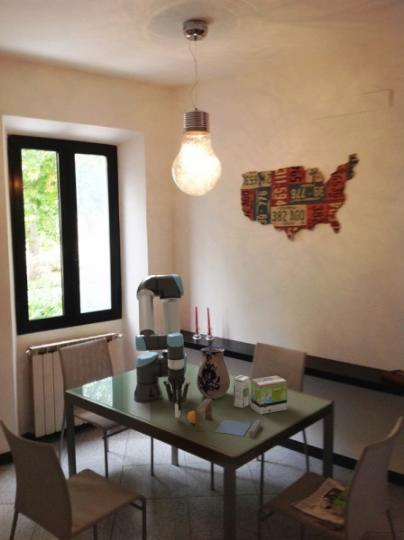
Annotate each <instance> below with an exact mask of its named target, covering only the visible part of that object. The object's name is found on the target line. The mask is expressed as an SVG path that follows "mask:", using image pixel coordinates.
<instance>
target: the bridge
mask: <svg viewBox="0 0 404 540" xmlns="http://www.w3.org/2000/svg"><path fill="white" fill-rule="evenodd" d="M194 411H195V423H194V429H195V431H198V430H201V431H200V432H202V431H203V430H204V419H205V420H211V421H212V420H213V418H214V416H213V411H214V409H213V399H212V398H205V399H204V400H203V401H202V402H201V403H200V404H199V405H198V406H197V407H196V408H195V409H194ZM203 412H204V413H203ZM203 414H204V415H203ZM204 417H205V418H204ZM202 429H203V430H202Z"/></svg>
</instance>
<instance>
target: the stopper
mask: <svg viewBox="0 0 404 540" xmlns="http://www.w3.org/2000/svg"><path fill="white" fill-rule="evenodd" d="M261 426H262V421H261V420H260V419H256V420H255V422H254V423H253V424H252V425H251V428H250V429H249V432H248V436H249V437H250V438H254V437H256V435H257V433H258V431H259V429H261Z"/></svg>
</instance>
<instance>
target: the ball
mask: <svg viewBox="0 0 404 540" xmlns="http://www.w3.org/2000/svg"><path fill="white" fill-rule="evenodd" d="M186 417H187V418H186V419H187V420H188V423H190V424H195V410H191V411H189V412H188V413H187V416H186Z"/></svg>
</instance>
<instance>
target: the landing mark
mask: <svg viewBox="0 0 404 540" xmlns="http://www.w3.org/2000/svg"><path fill="white" fill-rule="evenodd" d="M250 427H252V422H251V423H249V422H242V421H234V420H228V419H227V420H226V419H224V420H223V421H222V422H221V424H219V426H218V427H217V428H216V430H215V431H214V433H218V434H225V435H232V436H239V437H244V436H245V435H246V433H247V432H248V430H250V429H249V428H250Z"/></svg>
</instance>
